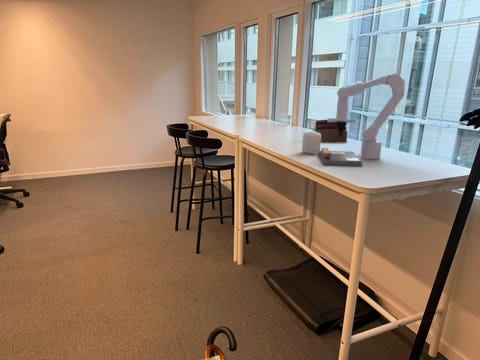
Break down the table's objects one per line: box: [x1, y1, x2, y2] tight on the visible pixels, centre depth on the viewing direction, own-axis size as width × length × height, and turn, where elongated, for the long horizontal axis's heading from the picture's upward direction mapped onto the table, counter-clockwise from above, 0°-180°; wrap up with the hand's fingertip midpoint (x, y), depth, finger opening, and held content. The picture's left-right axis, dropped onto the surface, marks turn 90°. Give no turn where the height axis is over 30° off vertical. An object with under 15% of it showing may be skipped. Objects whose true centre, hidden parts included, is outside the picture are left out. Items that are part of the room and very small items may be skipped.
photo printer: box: [301, 130, 322, 155], centre depth 188 cm, size 10×4×12 cm, turn 56°
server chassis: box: [317, 150, 363, 167], centre depth 173 cm, size 18×22×3 cm
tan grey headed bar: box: [320, 147, 332, 158], centre depth 174 cm, size 15×4×2 cm, turn 173°
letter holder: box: [314, 119, 348, 143], centre depth 225 cm, size 10×20×14 cm, turn 84°
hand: (340, 135), depth 184 cm, fingers closed
